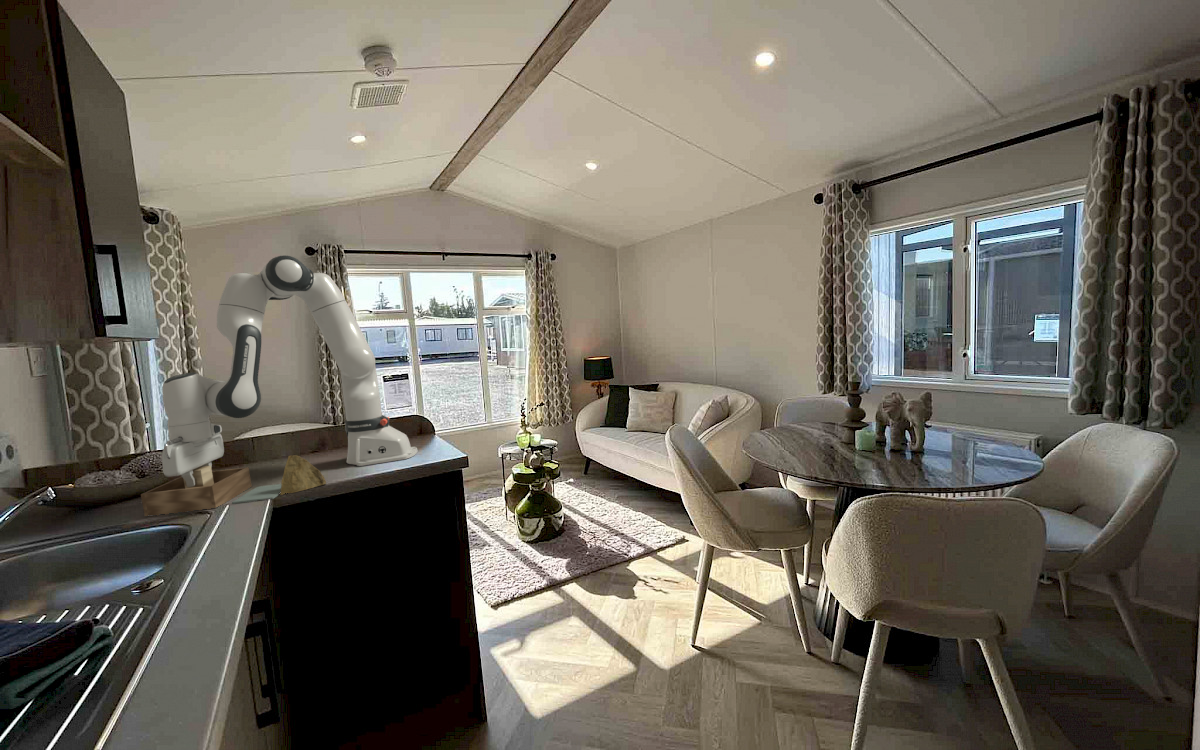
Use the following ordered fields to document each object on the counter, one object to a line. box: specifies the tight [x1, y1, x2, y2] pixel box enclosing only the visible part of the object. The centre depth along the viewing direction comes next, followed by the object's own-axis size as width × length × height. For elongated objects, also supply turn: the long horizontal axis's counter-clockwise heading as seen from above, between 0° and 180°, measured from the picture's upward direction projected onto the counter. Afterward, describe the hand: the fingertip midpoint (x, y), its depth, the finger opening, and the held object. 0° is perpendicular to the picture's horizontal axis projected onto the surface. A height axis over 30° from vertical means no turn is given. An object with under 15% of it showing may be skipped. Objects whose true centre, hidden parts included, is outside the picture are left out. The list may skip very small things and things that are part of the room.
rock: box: [279, 454, 327, 496], centre depth 141 cm, size 11×9×10 cm
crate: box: [140, 466, 253, 517], centre depth 138 cm, size 17×18×6 cm
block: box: [184, 466, 214, 488], centre depth 137 cm, size 4×4×7 cm
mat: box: [231, 483, 281, 505], centre depth 140 cm, size 10×13×1 cm
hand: (199, 482), depth 137 cm, fingers closed on block, 4 cm apart
